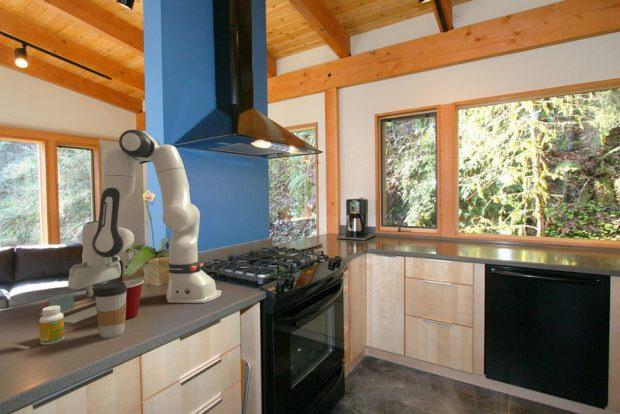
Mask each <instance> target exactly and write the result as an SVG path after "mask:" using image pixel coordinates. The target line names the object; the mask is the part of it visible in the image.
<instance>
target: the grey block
mask: <svg viewBox="0 0 620 414" xmlns="http://www.w3.org/2000/svg"><path fill="white" fill-rule="evenodd" d="M95 315H96V316H97V310H96V305H94V306H92V307H89V308H86V309H84V310H81V311H78V312H75V313H73V314H70V315H67V316H64V323H70V324H76V323H78V322H80V321H83V320H86V319H89V318H91V317H93V316H95Z"/></svg>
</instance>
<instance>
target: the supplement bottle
mask: <svg viewBox="0 0 620 414" xmlns="http://www.w3.org/2000/svg"><path fill="white" fill-rule="evenodd" d="M41 311H42V312H41V313H42V314H43V315H42V316H41V317H40V318H39V320H38V321H39V322H38V323H39V343H40V344H41V345H44V346H46V345H52V344H57V343H59V342H61V341H62V340H64V339H65V322H64V317H65V316H64V314H62V313H60V306H46V307H43V308H42V309H41Z"/></svg>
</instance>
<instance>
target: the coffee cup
mask: <svg viewBox="0 0 620 414" xmlns="http://www.w3.org/2000/svg"><path fill="white" fill-rule="evenodd" d="M95 287H96V290H95V297H96V302H95V306H96V310H97V314H96V316H97V317H96V318H97V327H98V332H99V333H98V334H99V336H100V338H102V339H113V338H116V337H119V336H121V335H122V334H123V333H124V331H125V327H126V326H125V325H126V320H125V317H126V291H127V286H125V283H124V281H112V282H107V283H105V284H99V285H97V286H95Z"/></svg>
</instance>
